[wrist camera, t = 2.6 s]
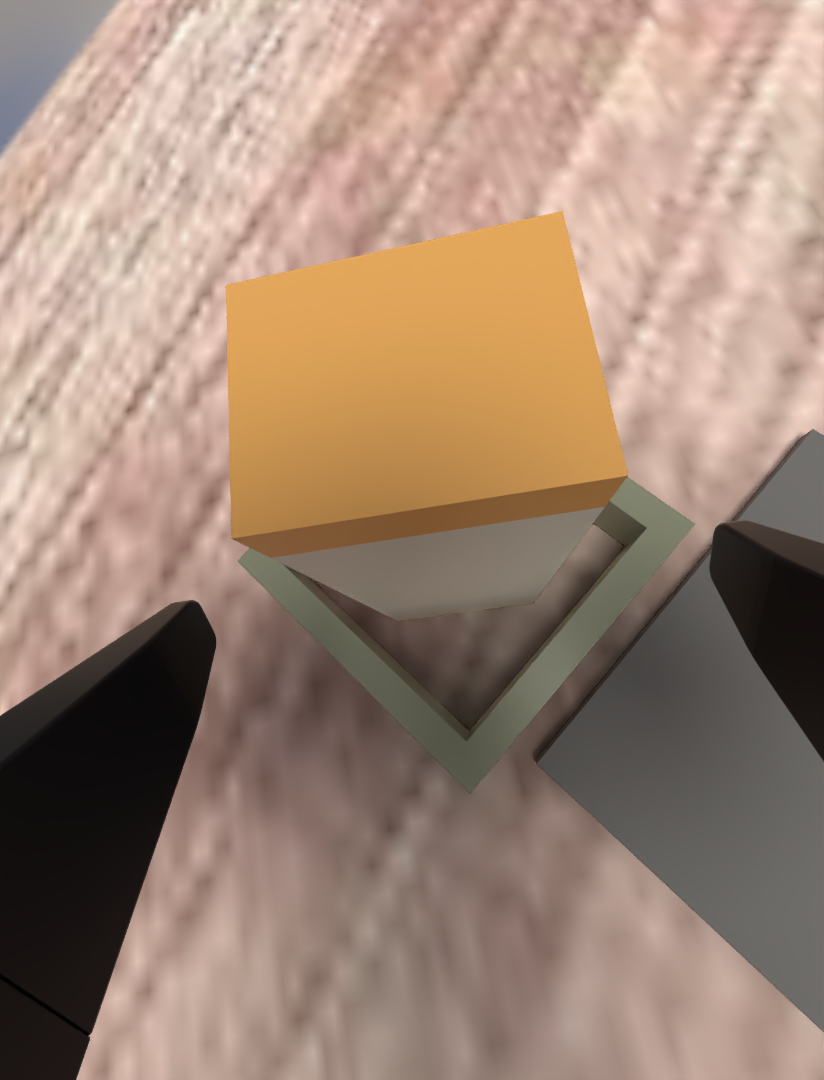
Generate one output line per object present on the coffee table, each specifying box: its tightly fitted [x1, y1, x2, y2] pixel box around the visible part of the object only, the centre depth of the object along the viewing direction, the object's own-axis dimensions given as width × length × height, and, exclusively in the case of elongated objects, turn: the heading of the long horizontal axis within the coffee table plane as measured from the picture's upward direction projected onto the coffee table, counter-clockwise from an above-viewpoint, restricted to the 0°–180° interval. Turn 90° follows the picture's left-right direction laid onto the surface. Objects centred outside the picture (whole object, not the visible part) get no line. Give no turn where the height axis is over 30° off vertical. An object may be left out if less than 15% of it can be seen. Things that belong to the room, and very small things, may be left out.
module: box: [226, 211, 628, 621], centre depth 13 cm, size 4×5×12 cm
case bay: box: [238, 477, 695, 793], centre depth 17 cm, size 11×11×2 cm
